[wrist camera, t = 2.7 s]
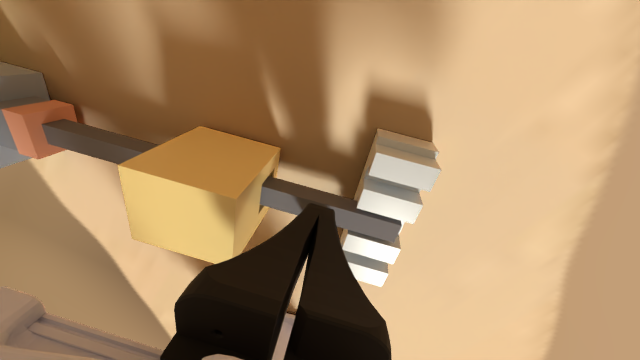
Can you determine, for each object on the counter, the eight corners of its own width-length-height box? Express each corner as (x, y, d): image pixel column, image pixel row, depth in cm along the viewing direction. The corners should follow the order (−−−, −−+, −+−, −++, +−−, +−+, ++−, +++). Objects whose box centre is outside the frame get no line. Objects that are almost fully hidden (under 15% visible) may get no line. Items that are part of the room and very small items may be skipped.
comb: (378, 260, 18) (379, 291, 16) (336, 248, 18) (332, 277, 16) (432, 142, 14) (445, 162, 11) (377, 128, 14) (379, 144, 11)
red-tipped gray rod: (402, 195, 15) (408, 223, 12) (387, 230, 16) (390, 261, 14) (35, 94, 16) (-21, 102, 13) (48, 134, 17) (-2, 147, 15)
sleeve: (272, 203, 17) (231, 268, 12) (201, 182, 17) (132, 238, 12) (280, 147, 15) (235, 199, 10) (200, 125, 15) (117, 165, 10)
